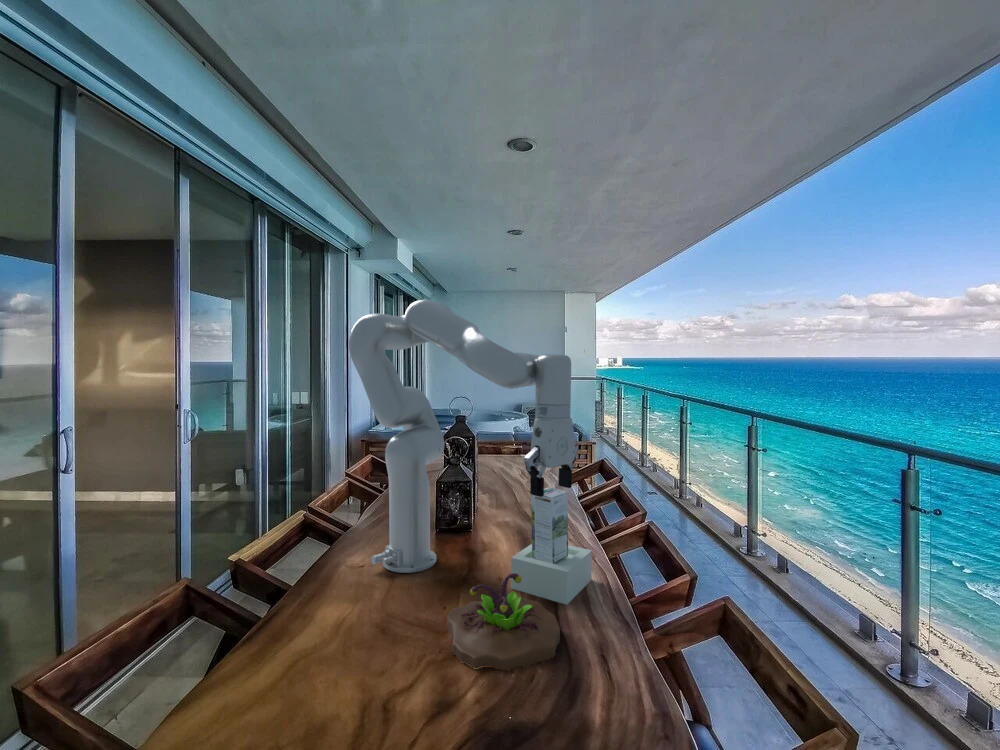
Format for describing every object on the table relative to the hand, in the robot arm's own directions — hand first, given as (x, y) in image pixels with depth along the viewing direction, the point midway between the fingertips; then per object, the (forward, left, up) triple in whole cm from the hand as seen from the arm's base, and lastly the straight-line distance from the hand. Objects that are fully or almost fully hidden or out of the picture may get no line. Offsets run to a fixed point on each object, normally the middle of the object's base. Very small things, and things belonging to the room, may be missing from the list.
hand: (551, 490), depth 108 cm
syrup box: (0, 0, -15) cm, 15 cm away
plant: (-21, -6, -21) cm, 31 cm away
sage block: (0, 0, -21) cm, 21 cm away
